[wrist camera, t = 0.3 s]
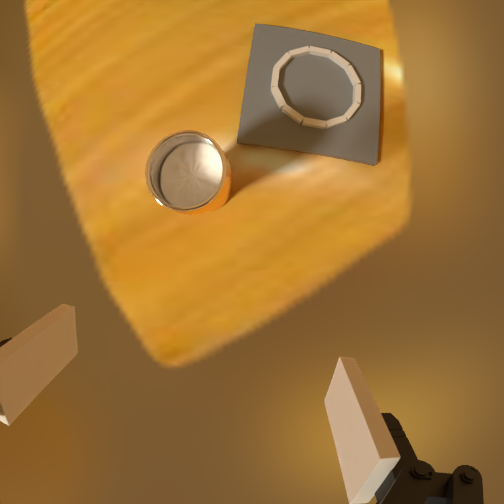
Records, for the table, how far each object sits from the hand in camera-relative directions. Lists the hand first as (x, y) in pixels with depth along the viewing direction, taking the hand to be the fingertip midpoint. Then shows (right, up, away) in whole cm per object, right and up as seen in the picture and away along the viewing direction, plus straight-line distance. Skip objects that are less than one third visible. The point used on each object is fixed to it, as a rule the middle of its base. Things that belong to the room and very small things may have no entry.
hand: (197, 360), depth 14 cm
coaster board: (+11, +26, +24) cm, 37 cm away
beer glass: (-3, +13, +25) cm, 28 cm away
